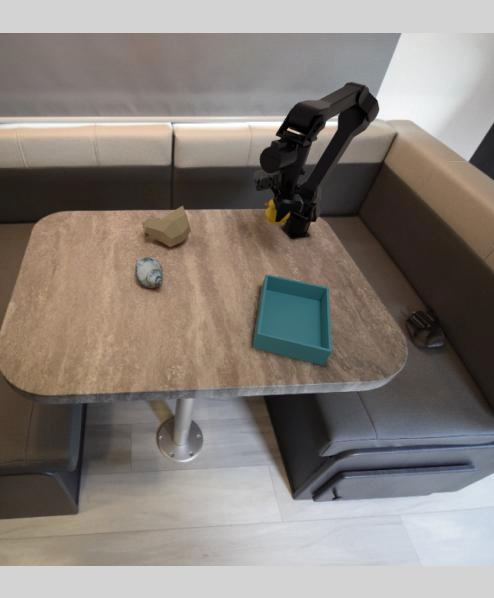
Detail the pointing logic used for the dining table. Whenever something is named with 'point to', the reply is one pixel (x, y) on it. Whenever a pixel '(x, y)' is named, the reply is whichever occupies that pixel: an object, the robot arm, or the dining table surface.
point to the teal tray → (294, 320)
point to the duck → (273, 213)
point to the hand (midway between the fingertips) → (276, 217)
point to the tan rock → (168, 227)
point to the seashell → (148, 272)
